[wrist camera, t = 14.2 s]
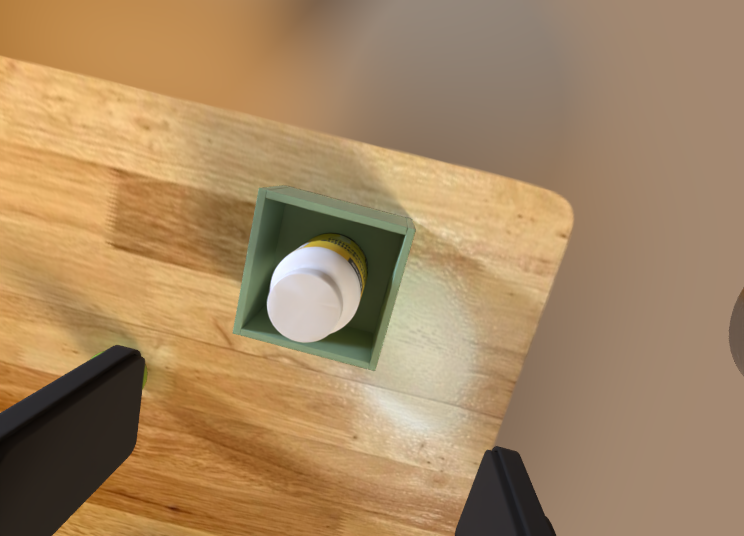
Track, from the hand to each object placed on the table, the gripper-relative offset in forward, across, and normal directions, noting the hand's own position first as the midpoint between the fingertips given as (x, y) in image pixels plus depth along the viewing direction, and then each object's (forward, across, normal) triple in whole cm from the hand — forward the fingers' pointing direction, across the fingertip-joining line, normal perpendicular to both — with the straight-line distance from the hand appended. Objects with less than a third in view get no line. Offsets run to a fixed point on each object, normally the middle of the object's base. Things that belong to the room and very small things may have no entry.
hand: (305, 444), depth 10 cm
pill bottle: (+26, +3, +2) cm, 26 cm away
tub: (+26, +3, +2) cm, 26 cm away
